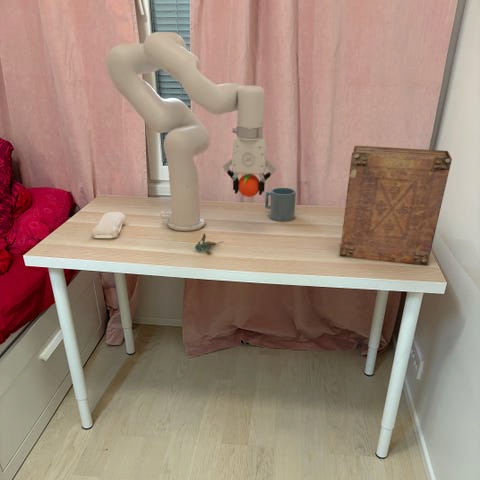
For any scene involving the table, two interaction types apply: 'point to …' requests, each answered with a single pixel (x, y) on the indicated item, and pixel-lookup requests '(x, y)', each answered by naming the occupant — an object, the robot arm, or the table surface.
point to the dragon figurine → (205, 244)
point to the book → (393, 203)
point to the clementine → (248, 185)
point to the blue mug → (281, 203)
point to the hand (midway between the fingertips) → (248, 192)
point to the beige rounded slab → (109, 225)
